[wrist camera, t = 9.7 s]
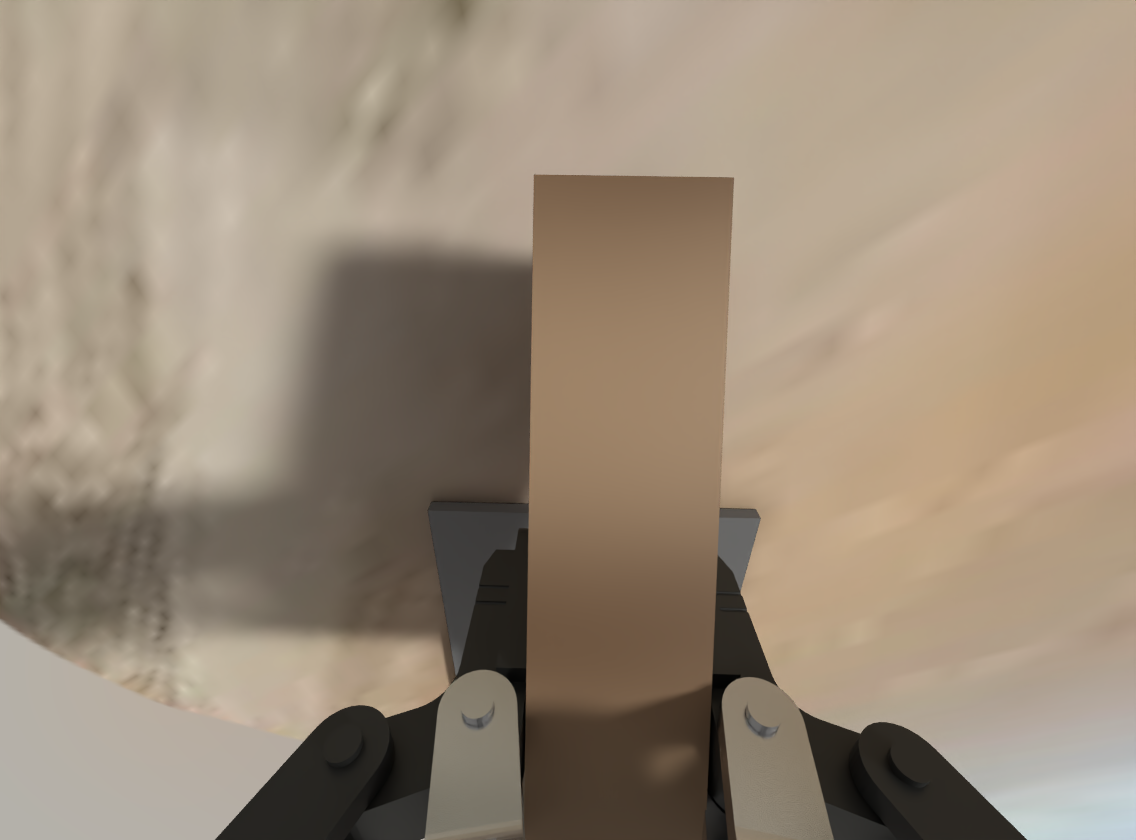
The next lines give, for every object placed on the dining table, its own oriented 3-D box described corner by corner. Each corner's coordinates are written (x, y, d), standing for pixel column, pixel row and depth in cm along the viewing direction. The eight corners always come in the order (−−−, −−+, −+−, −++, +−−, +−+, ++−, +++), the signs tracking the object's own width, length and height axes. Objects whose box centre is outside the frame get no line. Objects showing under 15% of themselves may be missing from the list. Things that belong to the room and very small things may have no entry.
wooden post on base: (463, 272, 13) (369, 172, 7) (750, 276, 13) (902, 179, 7) (461, 783, 14) (376, 1077, 8) (726, 792, 14) (841, 1098, 8)
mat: (431, 501, 17) (427, 510, 17) (755, 509, 17) (760, 518, 17) (466, 715, 24) (464, 725, 24) (698, 721, 24) (701, 732, 23)
